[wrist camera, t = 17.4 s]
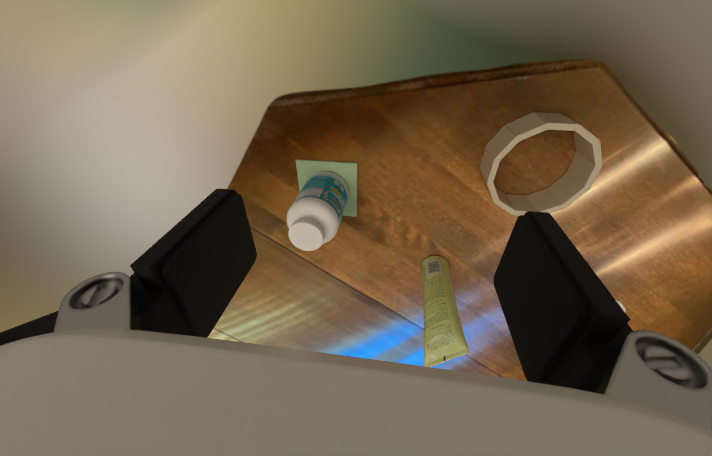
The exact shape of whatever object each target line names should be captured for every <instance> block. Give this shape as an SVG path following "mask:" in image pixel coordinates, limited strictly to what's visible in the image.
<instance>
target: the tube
mask: <svg viewBox="0 0 712 456" xmlns="http://www.w3.org/2000/svg"><path fill="white" fill-rule="evenodd" d="M422 284H423V308H424V365H425V367H432V366H434V365H437V364H440V363H442V362H445V361H448V360H451V359H453V358H456V357H459V356H462V355H465V354H467V353H469V350H468V346H467V343H466V340H465V337H464V333H463V329H462V326H461V322H460V318H459V314H458V310H457V305H456V301H455V296H454V292H453V287H452V282H451V277H450V272H449V267H448V263H447V261H446V260H445V259H444V258H443V257H440V256H430V257H427V258H426V259H424V260H423V262H422Z"/></svg>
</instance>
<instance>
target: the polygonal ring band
mask: <svg viewBox="0 0 712 456" xmlns="http://www.w3.org/2000/svg"><path fill="white" fill-rule="evenodd" d="M545 130H567V131H572V132H573V135H574V141H575V147H576V153H575V155H574V157H573V159H572V161H571V164H570V166H569V168H568V170H567V172H566V173H565V174H564V175H563V176H561V177H560V178H559V179H558V180H557V181H555V182H554V183H553V184H552V185H551V186H549V187H548V188H545V189H543V190H540V191H537V192H534V193H531V194H528V195H516V194H505V193H504V192H502V191H501V190H499V189H498V188H496V187H495V186H494V183H493V181H494V178H495V175H496V172H497V169H498V166H499V162H500V160H501V159H502V158H503V157H504V156H505V155H506V154H507V153H508V152H509V151H510V150H511V149H512V148H513V147H514V146H515V145H516V144H517V143H518V142H519V141H521V140H524V139H526V138H528V137H531V136H533V135H535V134H538V133H540V132H543V131H545ZM602 166H603V162H602V154H601V145H600V140H599V139H598V138H597V137H595V136H594V135H593V134H592V133H590V132H589V131H588V130H586V129H585V128H584V127H583V126H581V125H580V124H578V123H577V122H575V121H573V120H571V119H570V118H568V117H566V116H565V115H563V114H561V113H540V112H533V113H530V114H528V115H525V116H523V117H521V118H519V119H516V120H514V121H512V122H510V123H507V124H505V125H504V126H503V127H502V128H501V129H500V130H499V132H498V133H497V134H496V135H495V136H494V137H493V138H492V139H491V140H490V141H489V142H488V144H487V145H486V146H485V149H484V153H483V157H482V160H481V164H480V167H479V168H480V172H481V175H482V178H483V181H484V183H485V186H486V188H487V190H488V192H489V194H490V196H491V198H492V200H493V202H494V204H496V205H498V206H499V207H501V208H502V209H504V210H505V211H507V212H508V213H510V214H511V215H519V216H520V215H524V214H525V213H526V212H528V211H534V212H547V213H551V212H555V211H558V210H561V209H564V208H566V207H567V206H569V205H570V204H571V203H573V202H574V201H575V200H576V199H578V198H579V197H580V196H582V195H583V194H584V193H586V192H587V191H588V190H589V189H590V188H591V186H592V184H593V182H594V180H595V178H596V177H597V175H598V173H599V171H600V169H601V167H602Z"/></svg>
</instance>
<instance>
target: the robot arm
mask: <svg viewBox="0 0 712 456" xmlns="http://www.w3.org/2000/svg"><path fill="white" fill-rule="evenodd" d="M256 256H257V253H256V248H255V245H254V241H253V237H252V233H251V229H250V226H249V222H248V218H247V214H246V211H245V207H244V203H243V199H242V196H241V195H240V194H237V192H236V191H235V190H230V189H216V190H215V191H214V192H212V193H211V194H210V195H209V196H208V197H207V198H206V199H205V200H204V201H202V202H201V203H200V204H199V205H198V206H197V207H196V208H194V209H193V210H192V211H191V212H190V213H189V214H188V215H187V216H186V217H184V218H183V219H182V220H181V221H180V222H179V223H178V224H177V225H175V226H174V227H173V228H172V229H171V230H170V231H169V232H167V233H166V234H165V235H164V236H163V237H162V238H161V239H160V240H158V241H157V242H156V243H155V244H154V245H153V246H152V247H151V248H149V249H148V250H147V251H146V252H145V253H144V254H143V255H142V256H140V257H139V258H138V259H137V260H136V261H135V262H134V263H133V264H131V268H132V270H133V271H134V274H133V275H131V277H129V276H128V275H126V274H125V273H121V272H109V273H105V274H100V275H97V276H94V277H92V278H89V279H87V280H85V281H83V282H82V283H80V284H78V285H77V286H75V287H74V288H73V289H71V290H70V291H69V292H68V293H67V294H66V295H65V297H64V298H63V300H62V302H61V305H60V309H59V311H57V312H54V313H51V314H49V315H46V316H43V317H41V318H38V319H36V320H33V321H30V322H28V323H25V324H22V325H20V326H17V327H14V328H12V329H9V330H6V331H4V332H1V333H0V456H712V369H711V367H710V366H708V364H707V363H706V362H705V361H704V360H703V359H702V358H701V357H700V356H698V355H697V354H696V353H695V352H693V351H692V350H691V349H689V348H688V347H686V346H685V345H683V344H681V343H680V342H678V341H676V340H674V339H672V338H670V337H667V336H665V335H663V334H660V333H656V332H652V331H647V330H637V331H633V330H632V329H631V328H630V326H629V325H628V324H627V323H628V321H629V320H630V318H629V317H628V316H627V315H626V313H625V312H624V311H623V309H622V308H621V307H620V305H619V304H618V303H617V301H616V300H615V299H614V297H613V296H612V295H611V293H610V292H609V291H608V290H607V288H606V287H605V286H604V284H603V283H602V282H601V280H600V279H599V278H598V276H597V275H596V274H595V272H594V271H593V270H592V268H591V267H590V266H589V264H588V263H587V262H586V261H585V259H584V258H583V257H582V255H581V254H580V253H579V251H578V250H577V249H576V247H575V246H574V245H573V243H572V242H571V241H570V239H569V238H568V237H567V236H566V234H565V233H564V232H563V230H562V229H561V228H560V226H559V225H558V224H557V222H556V221H555V220H554V218H553V217H552V216H551V214H549V213H547V212H534V211H528V212H526V213H525V214H524V215H520V216H519V217H518V219H517V221H516V223H515V226H514V228H513V231H512V233H511V236H510V238H509V241H508V243H507V245H506V248H505V250H504V253H503V255H502V258H501V260H500V263H499V265H498V268H497V270H496V273H495V275H494V286H495V289H496V292H497V295H498V298H499V301H500V304H501V307H502V310H503V313H504V316H505V319H506V322H507V324H508V327H509V330H510V333H511V336H512V339H513V342H514V345H515V348H516V351H517V354H518V357H519V360H520V363H521V365H522V368H523V371H524V374H525V377H526V379H527V380H528V381H529V382H528V381H522V380H515V379H509V378H502V377H495V376H488V375H481V374H474V373H466V372H459V371H452V370H445V369H438V368H430V367H423V366H416V365H409V364H402V363H394V362H387V361H379V360H372V359H364V358H357V357H350V356H342V355H335V354H327V353H320V352H312V351H304V350H297V349H289V348H282V347H274V346H266V345H258V344H251V343H243V342H235V341H227V340H219V339H211V338H207V337H208V336H209V334H210V333H211V331H212V330H213V328H214V327H215V325H216V323H217V322H218V320H219V318H220V317H221V315H222V314H223V312H224V310H225V309H226V307H227V306H228V304H229V302H230V301H231V299H232V298H233V296H234V294H235V293H236V291H237V290H238V288H239V286H240V285H241V283H242V282H243V280H244V278H245V277H246V275H247V274H248V272H249V270H250V269H251V267H252V266H253V264H254V262H255V260H256Z"/></svg>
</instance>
